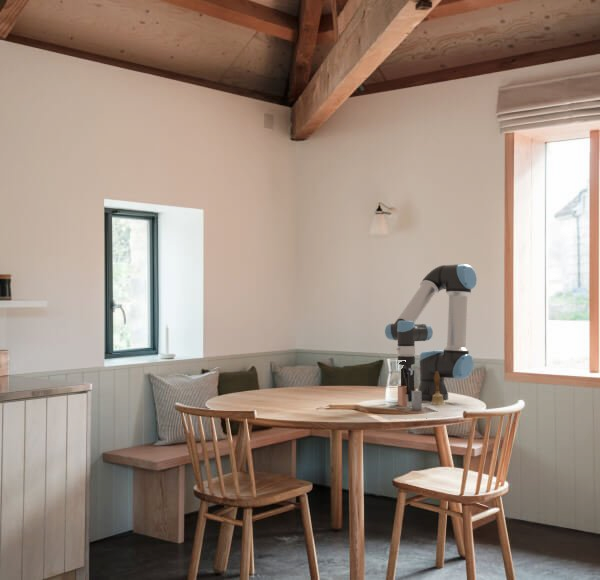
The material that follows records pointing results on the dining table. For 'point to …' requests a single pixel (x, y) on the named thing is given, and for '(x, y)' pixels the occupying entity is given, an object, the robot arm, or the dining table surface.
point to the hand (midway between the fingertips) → (406, 407)
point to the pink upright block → (402, 395)
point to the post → (416, 400)
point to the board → (409, 410)
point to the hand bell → (437, 391)
